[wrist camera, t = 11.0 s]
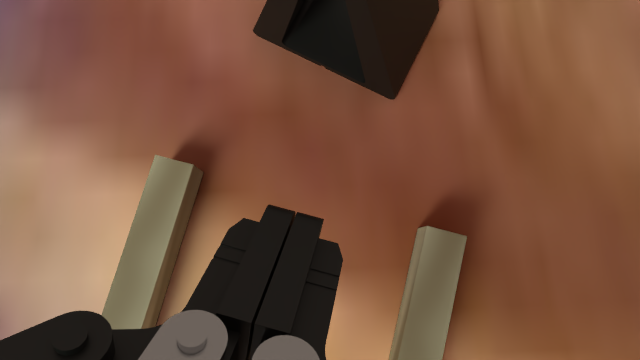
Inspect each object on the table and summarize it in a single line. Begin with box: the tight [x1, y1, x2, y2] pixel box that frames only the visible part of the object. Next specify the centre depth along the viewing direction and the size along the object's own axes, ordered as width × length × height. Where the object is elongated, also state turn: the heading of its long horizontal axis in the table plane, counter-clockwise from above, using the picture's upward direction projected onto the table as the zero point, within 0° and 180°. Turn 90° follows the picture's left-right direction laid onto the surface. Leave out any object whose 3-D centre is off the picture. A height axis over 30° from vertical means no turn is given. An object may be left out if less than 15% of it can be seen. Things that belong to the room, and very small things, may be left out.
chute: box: [101, 155, 467, 360], centre depth 23 cm, size 16×34×3 cm, turn 165°
